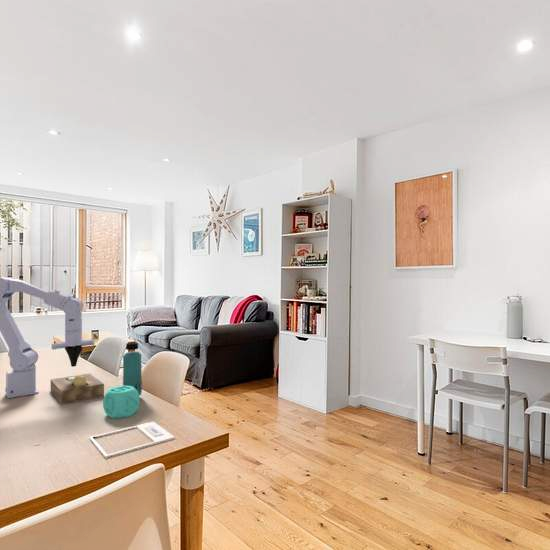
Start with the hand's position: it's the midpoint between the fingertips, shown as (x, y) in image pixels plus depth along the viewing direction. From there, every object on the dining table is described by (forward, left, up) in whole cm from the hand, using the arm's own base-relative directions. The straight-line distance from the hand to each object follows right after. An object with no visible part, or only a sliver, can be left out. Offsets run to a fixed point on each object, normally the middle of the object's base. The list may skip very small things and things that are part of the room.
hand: (73, 365), depth 150 cm
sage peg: (0, 0, -9) cm, 9 cm away
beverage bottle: (+14, -24, -10) cm, 29 cm away
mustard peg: (0, -10, -7) cm, 12 cm away
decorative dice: (+6, -37, -10) cm, 39 cm away
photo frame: (+2, -58, -10) cm, 59 cm away
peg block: (0, -5, -9) cm, 11 cm away
